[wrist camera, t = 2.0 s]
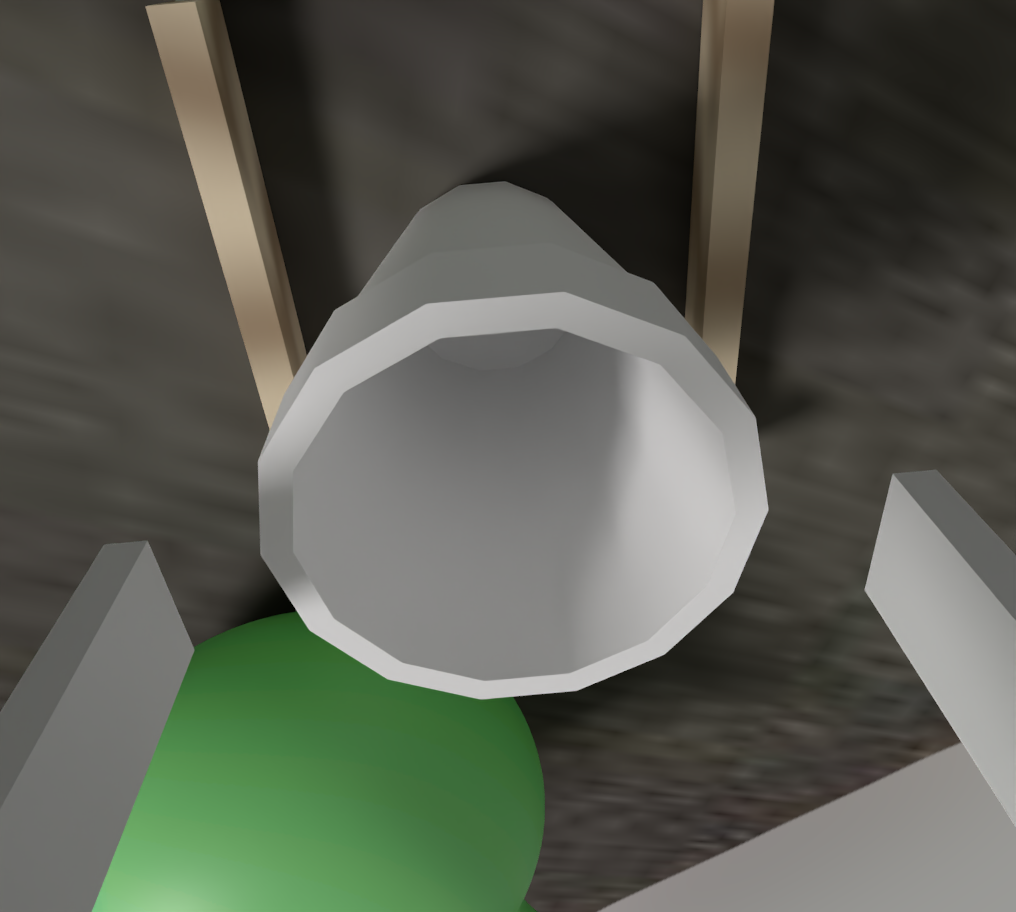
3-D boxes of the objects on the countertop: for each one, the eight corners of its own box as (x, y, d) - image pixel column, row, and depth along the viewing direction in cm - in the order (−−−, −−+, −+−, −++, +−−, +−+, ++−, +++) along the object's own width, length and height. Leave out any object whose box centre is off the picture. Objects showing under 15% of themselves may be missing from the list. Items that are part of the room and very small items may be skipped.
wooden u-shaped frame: (173, 0, 20) (117, 11, 17) (750, -52, 20) (807, -53, 17) (307, 486, 29) (287, 555, 26) (708, 449, 29) (740, 513, 26)
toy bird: (426, 472, 29) (402, 851, 17) (590, 720, 38) (653, 1087, 26) (55, 632, 33) (-185, 1040, 20) (284, 825, 41) (211, 1191, 29)
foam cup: (312, 354, 26) (209, 641, 15) (392, 75, 22) (326, 204, 11) (565, 434, 28) (630, 731, 18) (685, 198, 24) (872, 404, 13)
